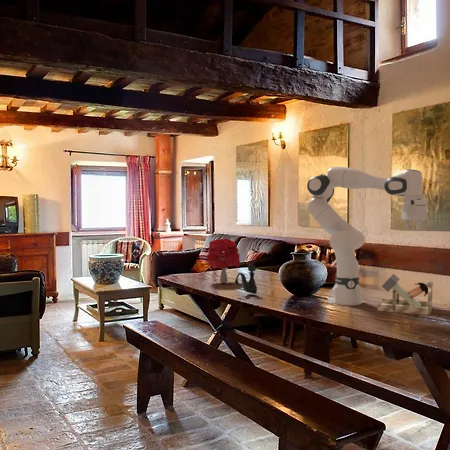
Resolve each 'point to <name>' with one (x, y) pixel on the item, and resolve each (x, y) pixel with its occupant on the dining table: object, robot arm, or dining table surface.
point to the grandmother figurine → (420, 289)
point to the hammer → (399, 290)
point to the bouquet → (223, 256)
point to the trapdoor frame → (406, 305)
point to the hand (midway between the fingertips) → (413, 229)
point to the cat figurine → (250, 285)
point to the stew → (331, 272)
